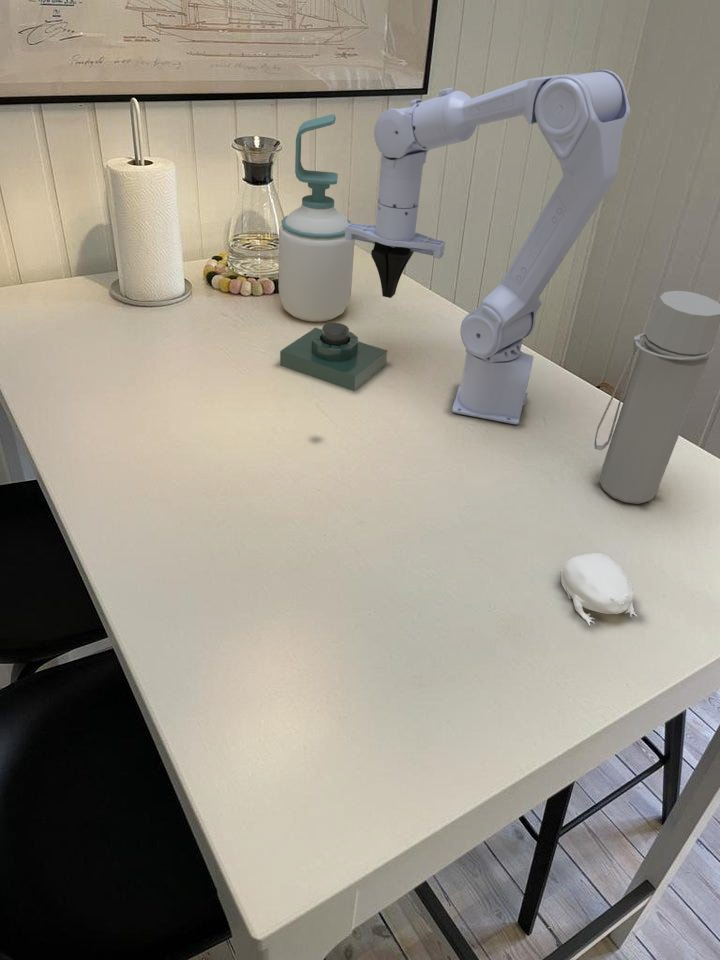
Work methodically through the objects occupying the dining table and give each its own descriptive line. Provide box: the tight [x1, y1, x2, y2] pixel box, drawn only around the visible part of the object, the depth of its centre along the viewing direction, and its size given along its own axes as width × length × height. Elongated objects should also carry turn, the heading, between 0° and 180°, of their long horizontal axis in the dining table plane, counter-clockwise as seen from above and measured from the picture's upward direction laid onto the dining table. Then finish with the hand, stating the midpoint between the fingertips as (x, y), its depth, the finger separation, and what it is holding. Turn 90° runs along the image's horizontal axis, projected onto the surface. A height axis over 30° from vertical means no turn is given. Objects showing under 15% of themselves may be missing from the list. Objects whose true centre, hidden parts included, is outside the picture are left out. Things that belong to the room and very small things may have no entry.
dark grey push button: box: [321, 322, 350, 346], centre depth 112 cm, size 4×4×2 cm
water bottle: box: [593, 290, 720, 505], centre depth 88 cm, size 9×8×25 cm
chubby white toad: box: [560, 552, 638, 627], centre depth 78 cm, size 8×7×4 cm
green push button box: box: [279, 327, 388, 392], centre depth 114 cm, size 13×10×4 cm
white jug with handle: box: [278, 113, 356, 323], centre depth 121 cm, size 12×12×31 cm
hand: (388, 294), depth 113 cm, fingers closed
